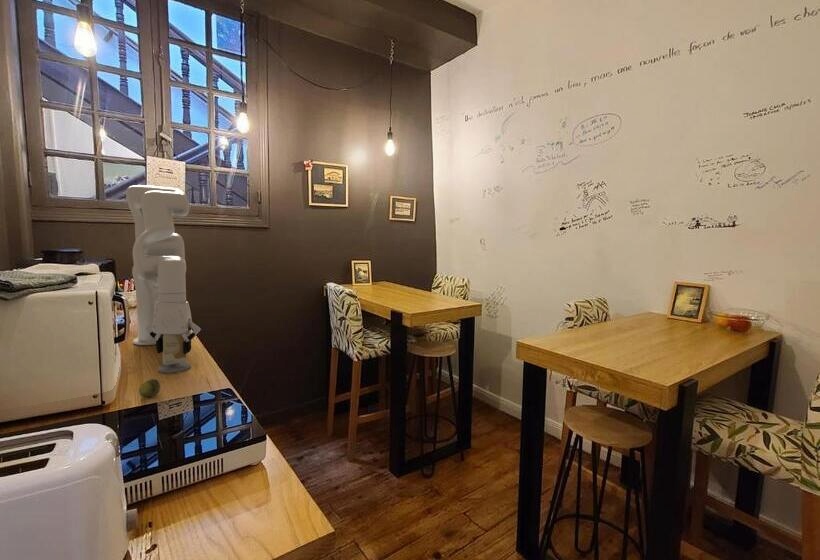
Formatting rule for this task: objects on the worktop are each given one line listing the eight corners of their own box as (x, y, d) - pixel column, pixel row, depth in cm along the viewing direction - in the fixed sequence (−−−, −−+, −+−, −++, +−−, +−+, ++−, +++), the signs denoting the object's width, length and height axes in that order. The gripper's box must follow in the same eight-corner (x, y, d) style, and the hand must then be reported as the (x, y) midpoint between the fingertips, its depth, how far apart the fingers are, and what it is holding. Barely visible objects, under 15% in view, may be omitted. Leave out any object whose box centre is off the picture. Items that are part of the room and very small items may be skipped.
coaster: (167, 364, 133) (167, 361, 133) (195, 364, 133) (195, 362, 133) (152, 373, 124) (151, 371, 124) (182, 374, 124) (182, 371, 124)
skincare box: (164, 365, 125) (162, 327, 124) (162, 361, 129) (161, 324, 127) (187, 362, 129) (186, 325, 128) (185, 358, 132) (184, 322, 131)
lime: (137, 401, 104) (136, 382, 104) (146, 393, 109) (145, 376, 108) (155, 400, 105) (155, 382, 104) (164, 393, 110) (163, 375, 109)
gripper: (136, 299, 122) (138, 355, 124) (195, 300, 123) (196, 356, 125) (150, 295, 129) (152, 348, 131) (206, 296, 130) (207, 349, 132)
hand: (174, 352), depth 128 cm, fingers closed on skincare box, 7 cm apart
